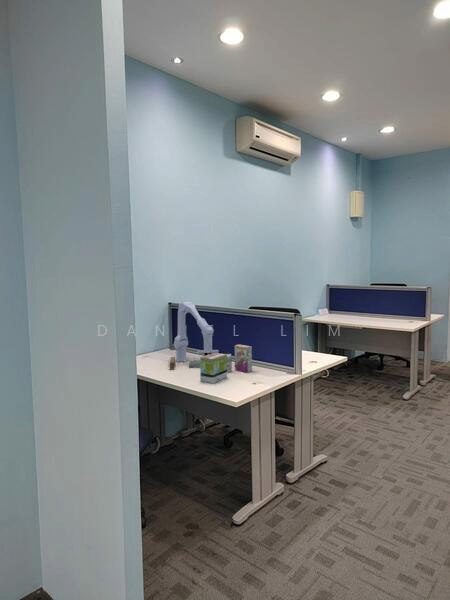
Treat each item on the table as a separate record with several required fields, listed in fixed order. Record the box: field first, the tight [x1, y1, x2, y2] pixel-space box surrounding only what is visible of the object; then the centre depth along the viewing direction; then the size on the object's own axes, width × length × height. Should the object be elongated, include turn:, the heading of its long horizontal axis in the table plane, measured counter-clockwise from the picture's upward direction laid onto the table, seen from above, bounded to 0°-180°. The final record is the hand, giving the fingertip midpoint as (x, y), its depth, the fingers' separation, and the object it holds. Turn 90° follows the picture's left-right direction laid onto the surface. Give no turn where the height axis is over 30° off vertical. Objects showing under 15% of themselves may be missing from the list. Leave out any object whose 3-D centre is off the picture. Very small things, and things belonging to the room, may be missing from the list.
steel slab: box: [188, 360, 200, 369], centre depth 268 cm, size 10×10×3 cm
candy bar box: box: [234, 343, 253, 374], centre depth 253 cm, size 11×5×16 cm, turn 47°
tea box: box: [199, 353, 228, 384], centre depth 235 cm, size 15×10×15 cm, turn 148°
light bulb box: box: [226, 353, 233, 373], centre depth 253 cm, size 11×7×11 cm, turn 84°
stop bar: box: [169, 356, 176, 371], centre depth 267 cm, size 16×3×5 cm, turn 5°
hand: (208, 363), depth 269 cm, fingers closed
